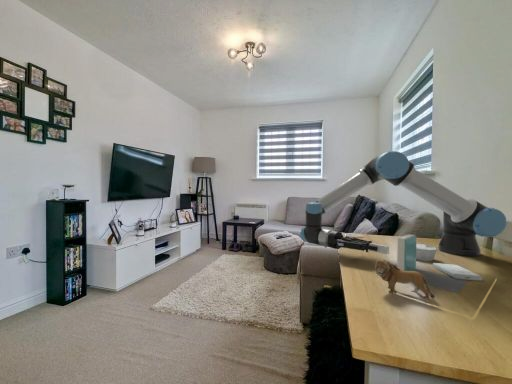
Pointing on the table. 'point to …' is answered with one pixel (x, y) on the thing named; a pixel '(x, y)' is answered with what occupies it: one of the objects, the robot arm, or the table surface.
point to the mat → (443, 281)
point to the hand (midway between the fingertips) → (387, 250)
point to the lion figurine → (401, 277)
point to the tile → (406, 253)
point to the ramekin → (425, 252)
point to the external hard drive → (457, 271)
